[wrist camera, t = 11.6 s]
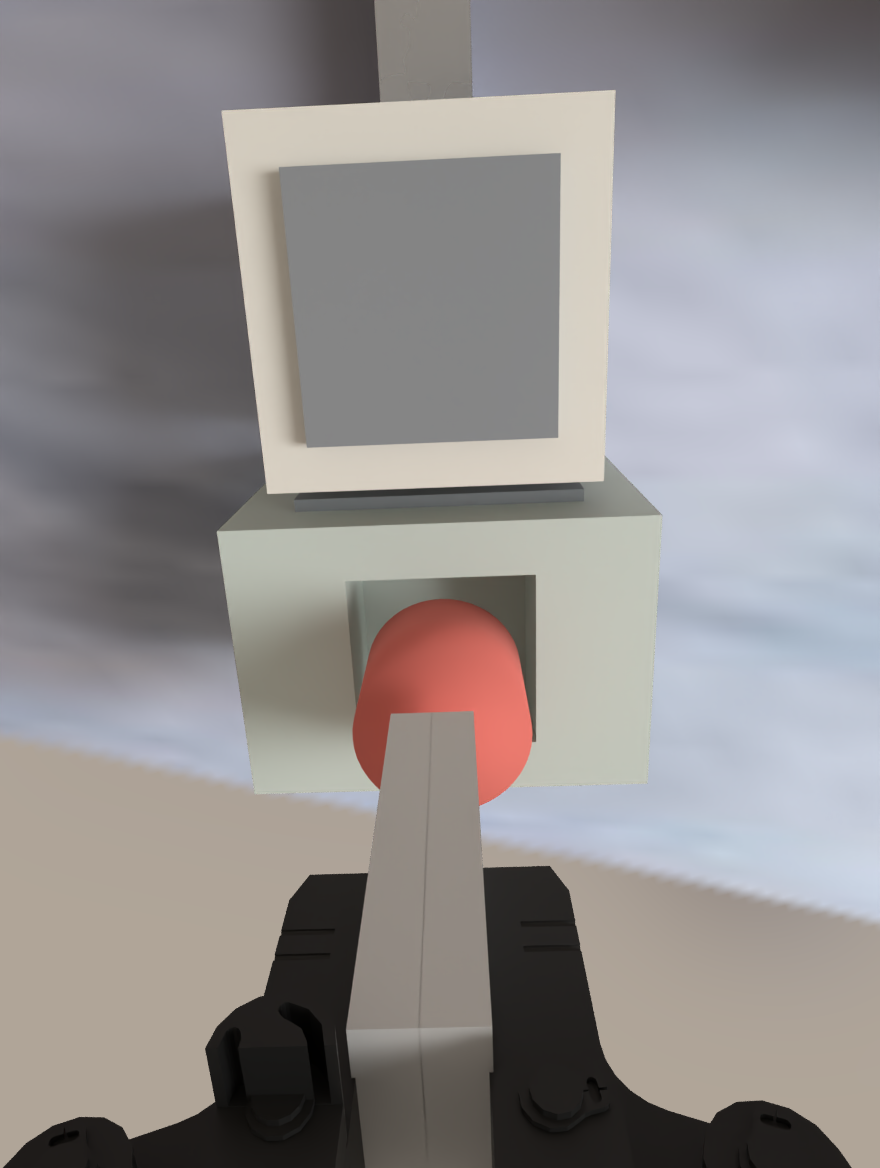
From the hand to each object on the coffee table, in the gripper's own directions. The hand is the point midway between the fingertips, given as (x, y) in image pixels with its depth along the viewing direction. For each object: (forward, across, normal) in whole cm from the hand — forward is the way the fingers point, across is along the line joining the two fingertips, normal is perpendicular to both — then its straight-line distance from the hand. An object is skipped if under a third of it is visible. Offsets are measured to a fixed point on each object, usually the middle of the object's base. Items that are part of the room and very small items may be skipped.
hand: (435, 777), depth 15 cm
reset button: (+4, 0, 0) cm, 4 cm away
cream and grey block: (+12, 0, +8) cm, 15 cm away
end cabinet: (+14, 0, 0) cm, 14 cm away
